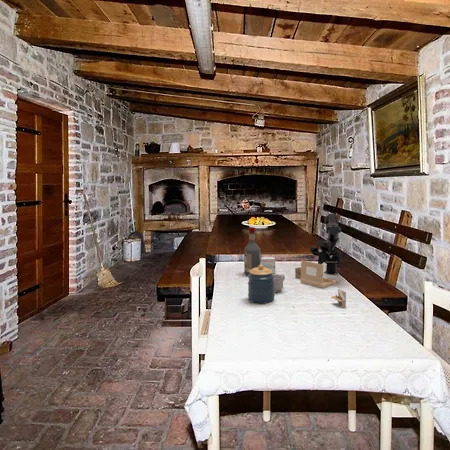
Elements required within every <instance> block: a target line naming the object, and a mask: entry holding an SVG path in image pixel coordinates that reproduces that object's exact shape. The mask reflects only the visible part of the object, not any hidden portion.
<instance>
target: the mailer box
mask: <svg viewBox="0 0 450 450" xmlns="http://www.w3.org/2000/svg"><path fill="white" fill-rule="evenodd" d="M299 280H300V284H301V283H302V284H304V285H309V286H313V287H316V288H320V289H326V288H329V287H332V286H335V285H336V284H337V281H336V280H334V279H330V278H326V277H323V284H320V283H316V282H312V281H308V280H304V279H299ZM334 284H335V285H334Z"/></svg>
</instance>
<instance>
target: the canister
mask: <svg viewBox="0 0 450 450" xmlns="http://www.w3.org/2000/svg"><path fill="white" fill-rule="evenodd" d="M249 272H250V274H249V275H248V276H247V278H248V282H247V284H248V285H247V287H248V294H247V297H248V300H249V301H250V302H252V303H253V304H269V303H272V302H273V301H274V300H275V292H274V282H273V278H274V275H273V274H272V270H270V269H269V268H265V267H263V265H261V264H260V265H259V266H258V267H256V268H253V269H252V270H250V271H249Z"/></svg>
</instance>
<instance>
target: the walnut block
mask: <svg viewBox="0 0 450 450" xmlns="http://www.w3.org/2000/svg"><path fill="white" fill-rule="evenodd" d="M294 269H295V270H294V271H295V273H294V274H295V276H294V277H295V279H298V280H300V279H301V266H298V267H295V268H294Z"/></svg>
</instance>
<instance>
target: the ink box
mask: <svg viewBox="0 0 450 450" xmlns="http://www.w3.org/2000/svg"><path fill="white" fill-rule="evenodd" d="M261 265H263V267H265V268H269V269H270V270H272V274H276V258H275V257H274V256H273V257H261Z"/></svg>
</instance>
